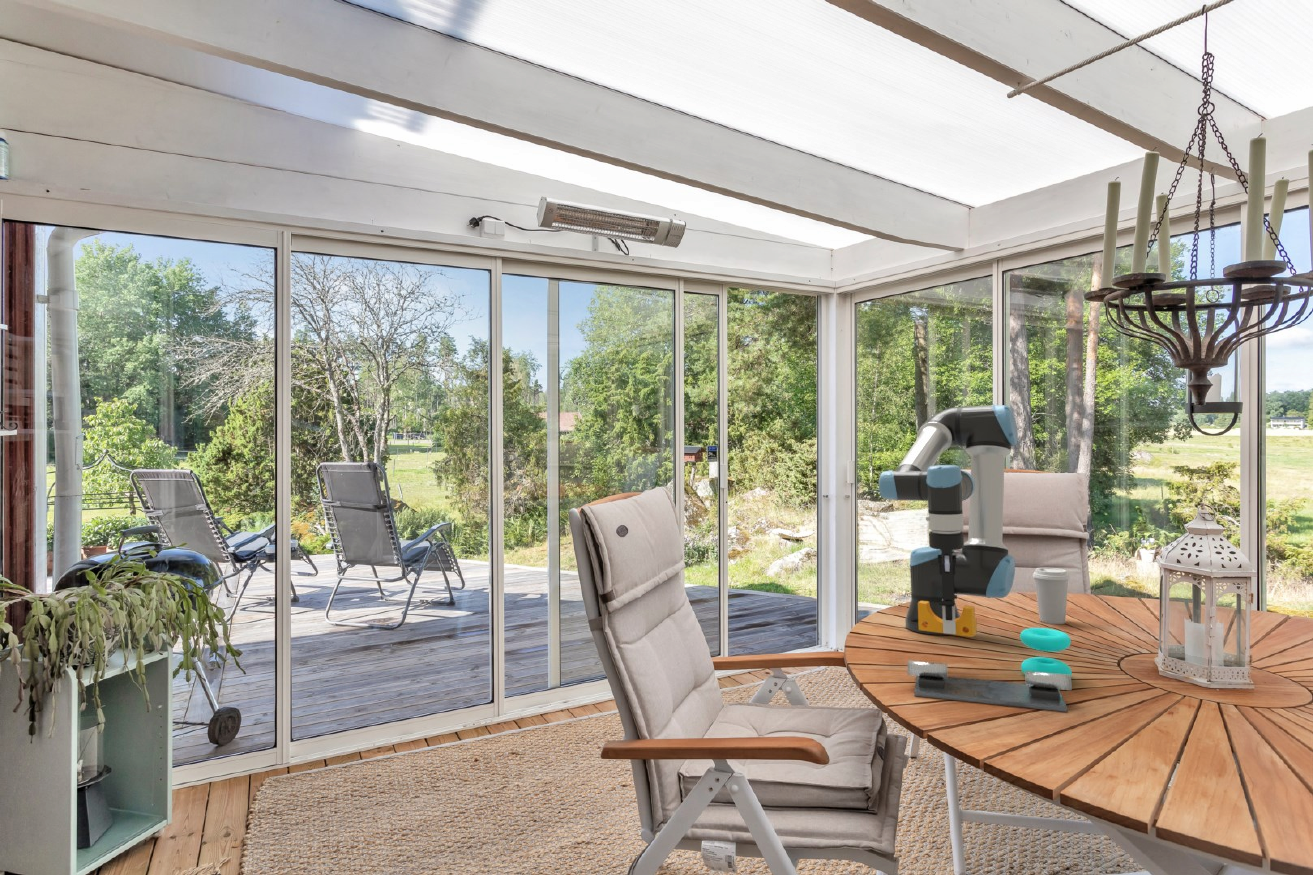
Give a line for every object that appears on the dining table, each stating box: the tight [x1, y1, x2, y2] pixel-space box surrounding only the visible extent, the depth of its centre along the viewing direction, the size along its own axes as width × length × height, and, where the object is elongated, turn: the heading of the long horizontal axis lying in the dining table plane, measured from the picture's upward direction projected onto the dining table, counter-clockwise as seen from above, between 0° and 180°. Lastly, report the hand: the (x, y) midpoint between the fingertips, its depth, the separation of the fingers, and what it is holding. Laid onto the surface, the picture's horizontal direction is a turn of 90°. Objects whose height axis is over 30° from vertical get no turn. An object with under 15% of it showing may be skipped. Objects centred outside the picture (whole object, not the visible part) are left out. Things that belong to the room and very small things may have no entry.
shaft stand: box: [907, 659, 1072, 713], centre depth 148 cm, size 12×31×6 cm, turn 68°
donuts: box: [1019, 627, 1073, 677], centre depth 158 cm, size 10×10×10 cm
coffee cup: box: [1032, 567, 1071, 625], centre depth 205 cm, size 10×10×15 cm
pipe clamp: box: [918, 601, 978, 638], centre depth 165 cm, size 12×4×6 cm, turn 54°
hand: (949, 629), depth 165 cm, fingers closed on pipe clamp, 5 cm apart
